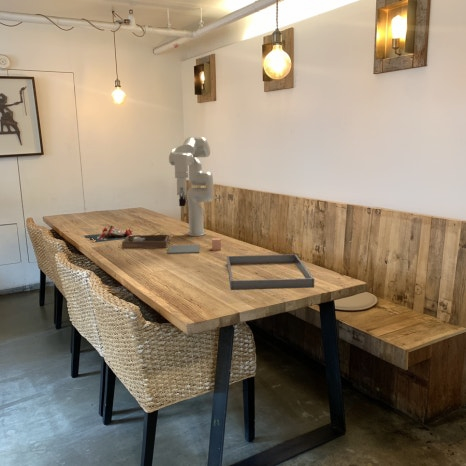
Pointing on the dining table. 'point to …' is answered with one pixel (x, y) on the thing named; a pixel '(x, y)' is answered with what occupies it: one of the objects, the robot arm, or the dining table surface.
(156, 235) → the reed diffuser
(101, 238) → the platter
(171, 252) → the slate mat
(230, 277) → the charcoal rectangular open frame
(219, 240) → the terracotta block
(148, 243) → the walnut tray
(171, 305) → the dining table surface
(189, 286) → the dining table surface
